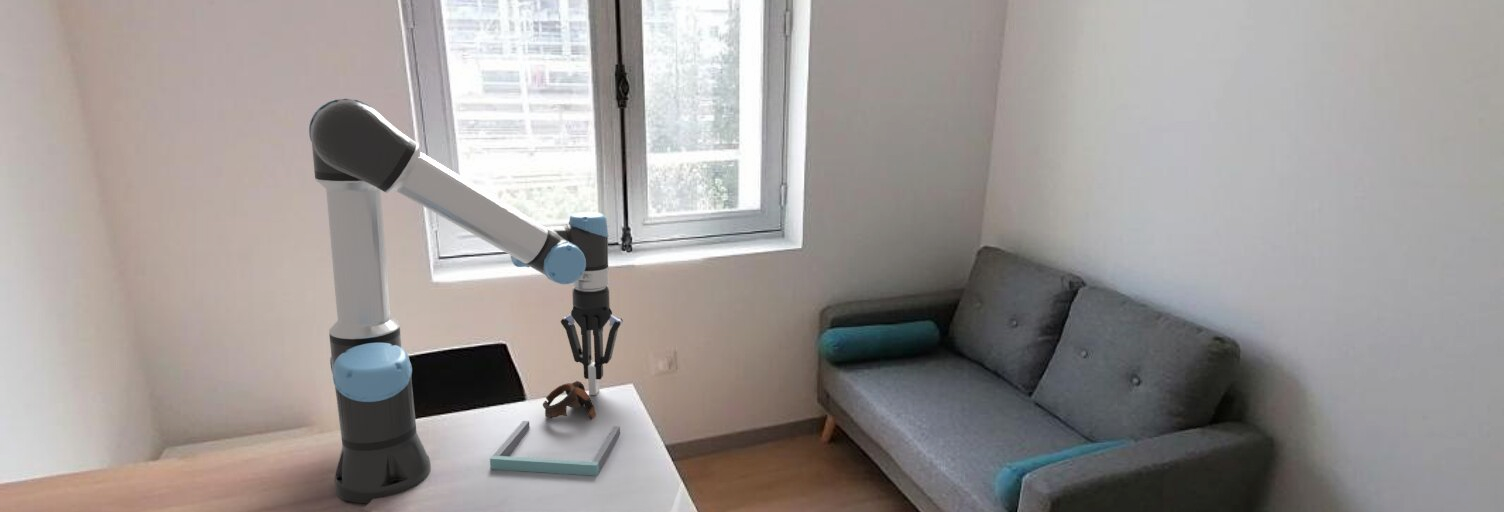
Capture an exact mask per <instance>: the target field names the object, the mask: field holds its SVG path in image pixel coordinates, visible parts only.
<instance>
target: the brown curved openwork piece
mask: <svg viewBox="0 0 1504 512" xmlns="http://www.w3.org/2000/svg"><path fill="white" fill-rule="evenodd" d="M564 392H565V394H566V396H564V398H563V399H562V400H560V401H559V402H557V403H555V404H551V403H552V402H554V400H555V399H556V398H558V397H559V396H561V395H562V394H564ZM590 397H591V396H590V395H589V393H587V392H586V389H585V385H584V384H583V383H582V382H581V381H578V380H576V381H574V382H572V383H571V382H570V383H569V382H568V383H564V384H561V385H559V386H557V387H556V388H554V389H553V390H552V391H550V393H549V394H548V395H546V398H545V399H546V400H544V402H543V403H542V407H543V409H544V410H545V411H544V415H545V418H548V419H553V418H558V417H560V416H562V417H566V418H567V417H568V413H567V409H568V408H567V407H569V408H581V407H584V408H585V409H588V410H589V412H588V415H589V417H590V419H591V420H594V418H595V417H596V415H597V413H596V409H595V406H594V403H593V401H592V400H591V398H590Z"/></svg>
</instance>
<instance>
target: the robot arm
mask: <svg viewBox="0 0 1504 512" xmlns="http://www.w3.org/2000/svg"><path fill="white" fill-rule="evenodd" d="M308 135H309V139H310V142H311V148H312V159H313V160H312V161H313V170H314V180H315V181H316V182H317V183H318V184H319V185H321V186H322V187H323V188H325V190H326V191H325V192H326V193H325V194H326V202H327V215H328V216H327V217H328V226H329V235H330V250H331V259H332V261H331V262H332V270H333V273H332V274H333V281H334V293H335V294H334V295H335V304H336V307H335V308H336V317H337V321H336V322H334V324H333V325H332V326H331V327H329V331H328V333H329V345H330V347H329V348H330V359H329V362H330V369H331V373H332V374H331V375H332V379H333V384H334V390H335V395H336V404H337V412H338V421H339V427H340V428H339V429H340V430H339V431H340V436H341V444H342V447H341V451H340V454H339V458H338V459H339V460H338V463H337V466H336V471H335V476H334V485H335V492H336V494H337V496H338V497H339V498H341V499H342V500H344V501H348V502H352V503H358V504H359V503H361V504H369V503H371V502H372V501H373V500H375V499H381V498H382V499H383V498H387V497H392V496H395V495H398V494H401V493H404V492H406V491H409V490H411V489H413V488H415V487H417V486H419V485H420V484H421V483H422V482H424V481H425V480H426V479H428V476H429V475H430V473H431V471H432V468H431V467H432V466H431V460H430V457H429V455H428V453H427V451H426V449H425V447H424V444H423V442H422V441H421V439H420V437H419V435H418V432H417V423H416V413H415V403H414V402H415V401H414V392H413V384H412V383H413V382H412V381H413V380H412V374H413V367H412V363H411V361H410V357H409V354H408V353H407V351H406V350H405V349H404V348H403V347H402V339H401V324H400V321H398V320H397V319H395V318H394V317H392V316H391V312H390V311H391V309H390V297H389V295H390V294H389V283H388V281H389V280H388V268H387V257H386V256H387V254H386V243H385V242H386V240H385V230H384V214H383V199H382V192H383V193H391V192H397V193H399V194H401V195H402V196H404V197H406V198H408V199H410V200H411V201H413V202H415V203H416V204H418V205H420V206H421V207H423V208H426V209H427V210H429V211H430V212H432V213H435V214H436V215H438V216H439V217H442V218H444V219H445V220H447V221H449V222H451V223H452V224H454V225H455V226H457V227H460V228H461V229H463V230H465V231H466V232H468V233H470V234H472V235H474V236H476V237H477V238H479V239H481V240H483V241H485V242H486V243H488V244H490V245H492V246H493V247H495V248H497V249H499V250H500V251H502V252H504V253H506V254H507V255H509V256H510V259H511V262H512V264H513V265H514V266H515V267H517V268H524V267H525V268H531V269H534V270H535V271H537V272H539V273H540V274H542V275H544V276H546V278H547V279H548V280H550V281H552V282H554V283H556V284H560V285H569V284H572V286H573V288H572V291H571V293H572V295H571V296H572V309H571V312H570V313H569V314H568V315H565V316H564V317H563V318H562V319H561V320H560V323H561V325H562V326H563V328H564V329H565V332H566V336H567V339H568V342H569V346H570V348H571V349H570V351H571V353H572V357H573V360H574V362H576V363H580V364H582V365H583V378H584V379H585V380H588V395H589V396H597V394H598V392H599V391H600V380H602V378H603V377H604V364H606V365H607V364H608V363H609V362H610V361H611V360H612V358H613V352H614V348H615V343H616V339H617V335H618V331H619V328H620V326H621V325H622V324H623V321H624V319H622V318H621V317H616V316H615V315H613V311H612V310H611V308H610V307H611V305H610V288H609V284H610V279H609V278H610V276H609V274H610V273H609V232H608V231H609V230H608V222H607V218H606V216H605V214H603V213H601V212H596V211H581V212H575V213H572V214H570V215H569V221H568V224H562V225H553V226H544V225H542V224H541V223H539V222H537V221H536V220H534V219H533V218H531V217H529V216H527V215H526V214H524V213H522V212H521V211H519V210H517V208H514V207H512V205H509V204H508V203H506V202H504V201H502V200H501V199H499V198H497V197H496V196H494V195H493V194H491V193H490V192H487V191H486V190H484V189H482V188H481V187H479V186H478V185H476V184H474V183H473V182H471V181H469V180H468V179H466V178H465V177H463V176H461V175H459V174H458V173H456V172H454V171H452V170H451V169H450V168H448V167H446V166H445V165H443V164H441V163H439V162H438V161H436V160H435V159H433V158H431V157H430V156H428V155H426V153H423V152H422V151H421V148H420V145H419V143H418V142H416V141H415V140H413V139H412V138H411V137H408V136H407V135H406V134H404V133H403V132H401V131H400V130H399V129H398V128H396V127H395V126H394V125H393V124H391V122H390V121H388V120H387V119H386V118H385V117H384V116H383V115H382V114H381V113H380V112H379V111H377V110H376V109H374V107H372V106H371V105H369V104H367V103H366V102H363V101H361V100H358V99H350V98H340V99H334V100H331V101H328V102H326V103H325V104H322V105H321V106H320V107H319V108H318V109H317V110H316V111H315V112H314V113H313V115H312V117H311V120H310V121H309V127H308ZM575 322H576V324H577V325H578V327H580V335H581V342H580V339H579V336H578V332H577V328H576V325H575ZM608 322H609V327H610V329H609V333H608V336H607V341H606V346H605V350H604V339H603V336H604V335H603V332H604V327H605V325H607V323H608ZM592 336H593V352H594V353H593V354H594V361H592V360H593V357H592ZM581 346H582V347H581Z"/></svg>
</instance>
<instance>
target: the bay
mask: <svg viewBox="0 0 1504 512" xmlns="http://www.w3.org/2000/svg"><path fill="white" fill-rule="evenodd" d="M530 427H531V426H530V421H529V420H523V421H522V422H521V423H520V424H519V425H518V426H517V427H516V429H514V431H513V432H512V433H511V434H510V435H509V436H508V437H507V439H505V441H504V442H503V443H502V444H501V445H500V447H499V448H498V449H497V450H496V451H495V452H494V454H493V455H492V456H491V457H490V458H489V463H490V470H498V471H500V470H502V471H513V472H514V471H515V472H517V471H518V472H531V473H546V474H549V473H551V474H560V475H561V474H564V475H578V476H579V475H580V476H594V477H597V476H598V475H599V473H600V472H601V470H602V468H603V466H604V465H605V463H606V462H607V459H608V457H609V456H610V454H611V453H612V450H613V448H614V446H615V444H616V442H617V440H618V438H619V437H620V434H621V426H620V425H613V427H612V428H611V430H610V432H609V433H608V435H607V436H606V438H605V439H604V441H603V443H602V445H601V447H600V448H599V449H598V451H597V453H596V455H594V458H593V459H592V461H586V460H585V461H584V460H569V459H555V458H553V459H552V458H537V457H536V458H535V457H524V456H523V457H522V456H521V457H520V456H510V455H511V454H512V452H513V451H514V450H515V449H516V448H517V446H518V445H519V444H520V442H521V441H522V439H523V438H524V436H525V435H526V434H527V432H528V431H529V430H530Z"/></svg>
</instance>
